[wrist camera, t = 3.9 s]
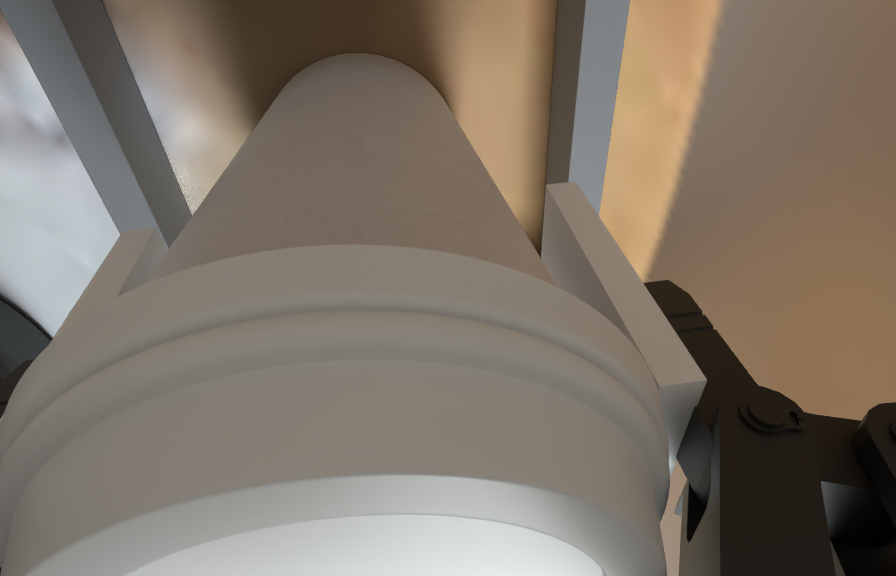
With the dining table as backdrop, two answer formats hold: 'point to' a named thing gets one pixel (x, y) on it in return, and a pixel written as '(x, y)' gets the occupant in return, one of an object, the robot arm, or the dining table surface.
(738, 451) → the robot arm
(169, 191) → the cup caddy
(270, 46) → the dining table surface
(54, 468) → the coffee cup
